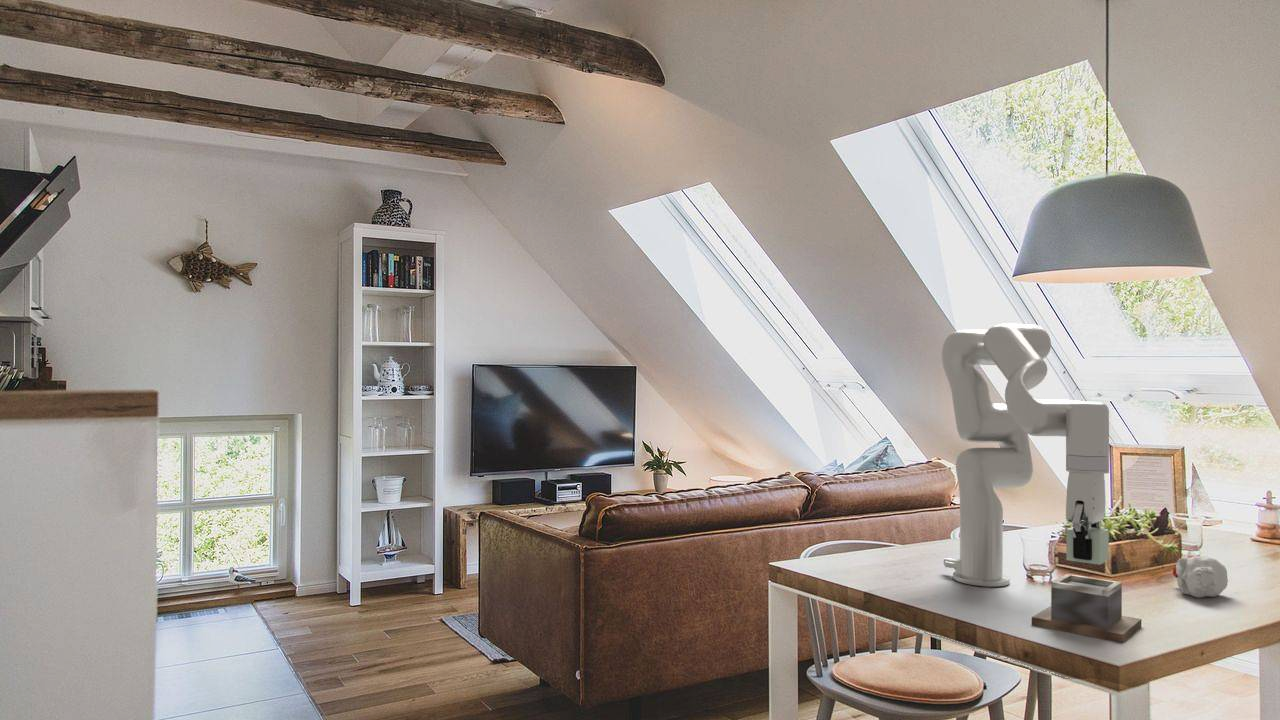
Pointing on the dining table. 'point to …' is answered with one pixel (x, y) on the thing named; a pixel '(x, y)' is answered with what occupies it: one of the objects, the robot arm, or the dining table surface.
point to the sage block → (1098, 546)
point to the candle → (1200, 576)
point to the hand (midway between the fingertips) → (1087, 555)
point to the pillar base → (1089, 630)
